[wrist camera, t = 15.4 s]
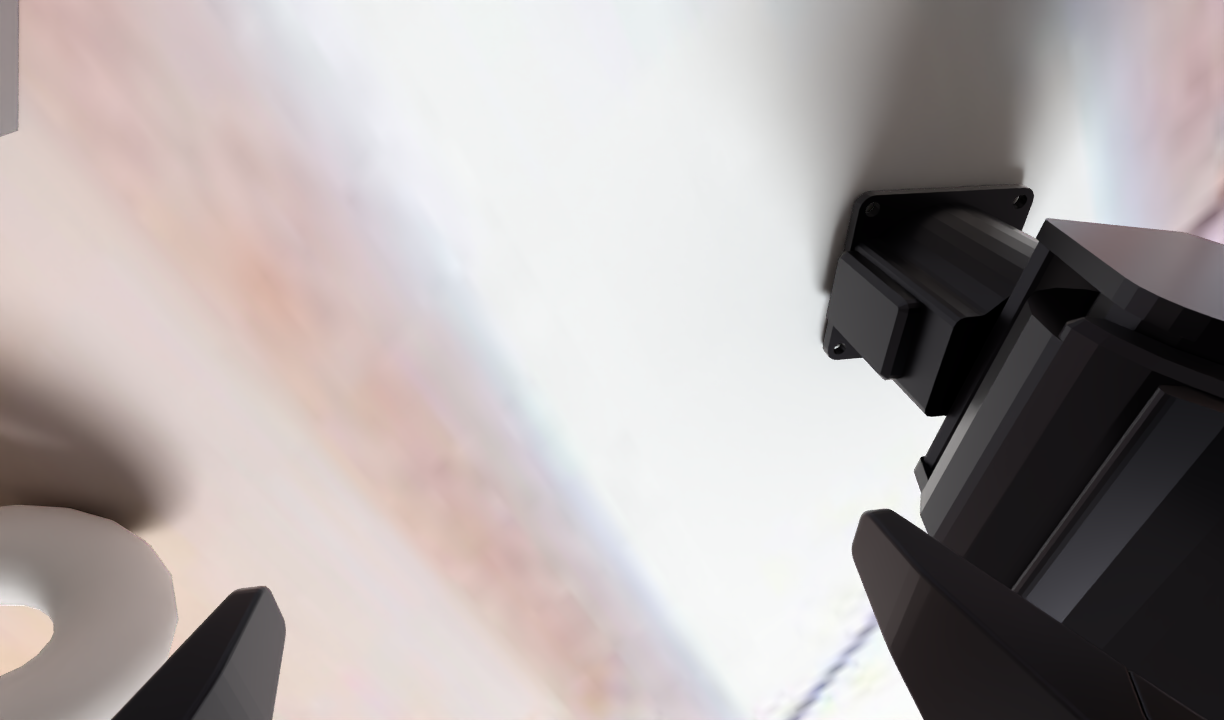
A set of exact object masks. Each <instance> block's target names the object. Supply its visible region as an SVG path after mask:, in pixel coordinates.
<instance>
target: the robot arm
mask: <svg viewBox="0 0 1224 720" xmlns="http://www.w3.org/2000/svg"><path fill="white" fill-rule="evenodd" d="M1018 196H1019V198H1018V200H1017V201H1016V202H1015V203H1014V204H1013V202H1014V200H1015V198H1017V197H1018ZM1033 198H1034V194H1033V191H1032V190H1031V189H1030V188H1028V187H1025V186H1023V185H1019V184H1010V185H989V186H969V187H949V188H929V189H908V190H888V191H870V192H866V193H864V194H862V195H861V196H859V197H858V199H857V200H856V201H855V203H854V206H853V210H852V214H851V219H850V224H849V228H848V233H847V237H846V242H845V246H844V251H843V254H842V255H841V256H840V258H839V260H838V265H837V269H836V274H835V279H834V283H833V288H832V292H831V297H830V302H829V306H828V311H827V316H826V317H827V319H828V324H827V329H826V333H825V338H824V343H823V349H824V351H825V353H826V354H827V355H828V356H829V357H830V358H831V359H834V360H841V359H852V358H864V359H865V360H866V361H867V362H868V364H869V365H870V366H871V367H872V368H873V369H874V370H875V371H876V372H877V373H878V374H879V375H880V376H881V378H882V379H884V380H893V381H894V382H895V383H896V384H897V385H898V386H899V387H900V388H901V389H902V390H903V391H904V392H905V393H906V394H907V395H908V396H909V398H910V399H911V400H912V401H913V402H914V403H915V404H916V405H917V406H918V407H919V408H920V409H921V410H922V411H923V412H924V413H925V414H926V415H927V416H930V417H933V416H943V415H944V416H946V418H945V420H944V422H943V424H942V426H941V428H940V429H939V431H938V433H937V435H936V437H935V439H934V441H933V443H932V445H931V446H930V448H929V450H928V452H927V454H926V456H923V457H921V458H920V460H919V462H918V464H917V466H916V467H915V469H914V473H915V476H916V479H917V482H918V485H919V488H920V490H921V503H920V516H921V518H922V521H923V523H924V525H925V528H926V530H927V533H928V534H927V533H926V532H924V531H923V530H921V529H920V528H918V527H917V526H915V525H914V524H912V523H911V522H909V521H908V520H906V519H905V518H903V517H902V516H900V515H899V514H897V513H896V512H894V511H892V510H890V509H877V510H869V511H865V512H864V513H863V514H862V515H861V518H860V521H859V524H858V527H857V531H856V534H855V537H854V540H853V543H852V555H853V559H854V562H855V565H856V568H857V570H858V573H859V575H860V578H861V581H862V583H863V586H864V588H865V591H866V593H867V596H868V599H869V601H870V604H871V606H872V609H873V612H874V614H875V617H876V619H877V622H878V625H879V627H880V630H881V632H882V635H883V637H884V640H885V642H886V644H887V647H888V649H889V651H890V654H891V656H892V658H893V660H894V662H895V664H896V666H897V668H898V670H899V672H900V674H901V676H902V678H903V680H904V682H905V684H906V686H907V688H908V690H909V692H910V694H911V696H912V698H913V700H914V702H915V704H916V706H917V708H918V709H919V711H920V713H921V715H922V717H923V719H924V720H1224V245H1223V244H1220V243H1217V242H1214V241H1211V240H1208V239H1205V238H1202V237H1199V236H1195V235H1192V234H1188V233H1184V232H1176V231H1166V230H1157V229H1147V228H1137V227H1128V226H1118V225H1108V224H1099V223H1089V222H1079V221H1070V220H1060V219H1050V218H1047V219H1046V220H1045V222H1044V223H1043V225H1042V227H1041V229H1040V231H1039V233H1038V235H1037V237H1036V238H1034V237H1032V236H1030V235H1028V234H1026V233H1024V232H1022V229H1023V226H1024V223H1025V221H1026V218H1027V215H1028V213H1029V210H1030V207H1031V205H1032V202H1033ZM871 203H874V207H873V209H872V210H871V211H870V212H867V213H866V208H867V206H868V205H870V204H871ZM840 343H841V345H840V346H839V347H838V348H836V349H834V348H835V346H836V345H837V344H840ZM285 635H286V628H285V621H284V618H283V616H282V614H281V612H280V610H279V607H278V605H277V603H276V601H275V599H274V597H273V595H272V592H271V591H270V589H269V588H267V587H266V586H257V587H249V588H241V589H237V590H235V591H234V592H232V593H231V594H230V595H229V596H228V597H227V598H226V599H225V600H224V601H223V602H222V603H221V604H220V605H219V606H218V607H217V608H216V609H215V610H214V611H213V613H212V614H211V615H210V616H209V617H208V618H207V619H206V620H205V621H204V622H203V623H202V624H201V625H200V626H199V627H198V628H197V629H196V630H195V631H194V632H193V634H192V635H191V636H190V637H189V638H188V639H187V640H186V641H185V642H184V643H183V644H182V645H181V646H180V647H179V648H178V649H177V650H176V651H175V652H174V654H173V655H172V656H171V657H170V658H169V659H168V660H167V661H166V662H165V663H164V664H163V665H162V666H161V667H160V668H159V669H158V670H157V671H156V672H155V673H154V675H153V676H152V677H151V678H150V679H149V680H148V681H147V682H146V683H145V684H144V685H143V686H142V687H141V688H140V689H139V690H138V691H137V692H136V693H135V695H134V696H133V697H132V698H131V699H130V700H129V701H128V702H127V703H126V704H125V705H124V706H123V707H122V708H121V709H120V710H119V711H118V712H117V713H116V714H115V716H114V717H113V718H112V719H111V720H272V718H273V711H274V705H275V699H276V693H277V686H278V680H279V674H280V667H281V661H282V655H283V649H284V642H285Z"/></svg>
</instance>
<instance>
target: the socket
mask: <svg viewBox="0 0 1224 720" xmlns="http://www.w3.org/2000/svg"><path fill="white" fill-rule="evenodd" d="M15 131H18V0H0V137H1V136H4V135H6V134H9V133H12V132H15Z"/></svg>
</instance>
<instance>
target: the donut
mask: <svg viewBox="0 0 1224 720" xmlns="http://www.w3.org/2000/svg"><path fill="white" fill-rule="evenodd" d="M0 605H8V606H26V607H30V608H34V609H38V610H40V611H42V612H43V613H45V614H46V615H48V616H49V617H50V619H51V620H52V622H53V625H54V633H53V636H52V638H51V640H50V641H49V642H48V643H47V645H46V646H45V647H44V648H43V649H42V650H41V651H40V653H39V654H38V655H37V656H36V657H34V658H33V659H31V660H30V661H29V662H27V663H26V664H24V665H23V666H21V667H19V668H17V669H15V670H13V671H10V672H8V673H6V674H4V675H2V676H0V720H111V719H112V718H113V717H114V716H115V714H116V713H117V712H118V711H119V710H120V709H121V708H122V707H123V706H124V705H125V704H126V703H127V702H128V701H129V700H130V699H131V698H132V697H133V696H134V695H135V693H136V692H137V691H138V690H139V689H140V688H141V687H142V686H143V685H144V684H145V683H146V682H147V681H148V680H149V679H150V678H151V677H152V676H153V675H154V673H155V672H156V671H157V670H158V669H159V668H160V667H161V666H162V665H163V664H164V663H165V662H166V661H167V659H168V656H169V652H170V648H171V644H172V641H173V637H174V633H175V630H176V626H177V622H178V613H177V606H176V600H175V593H174V587H173V581H172V575H171V573H170V572H169V571H168V569H167V568H166V566H165V565H164V563H163V562H162V561H161V559H160V558H159V556H158V555H157V554H156V552H155V551H154V549H153V548H152V546H151V545H149V544H148V543H147V542H146V541H145V540H143V539H141V538H140V537H138V536H137V535H135V534H134V533H132V532H130V531H129V530H127V529H126V528H124V527H123V526H121V525H119V524H118V523H116V522H115V521H113V520H110V519H106V518H103V517H99V516H96V515H92V514H89V513H85V512H82V511H78V510H75V509H71V508H62V507H47V506H31V505H9V506H0Z"/></svg>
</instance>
